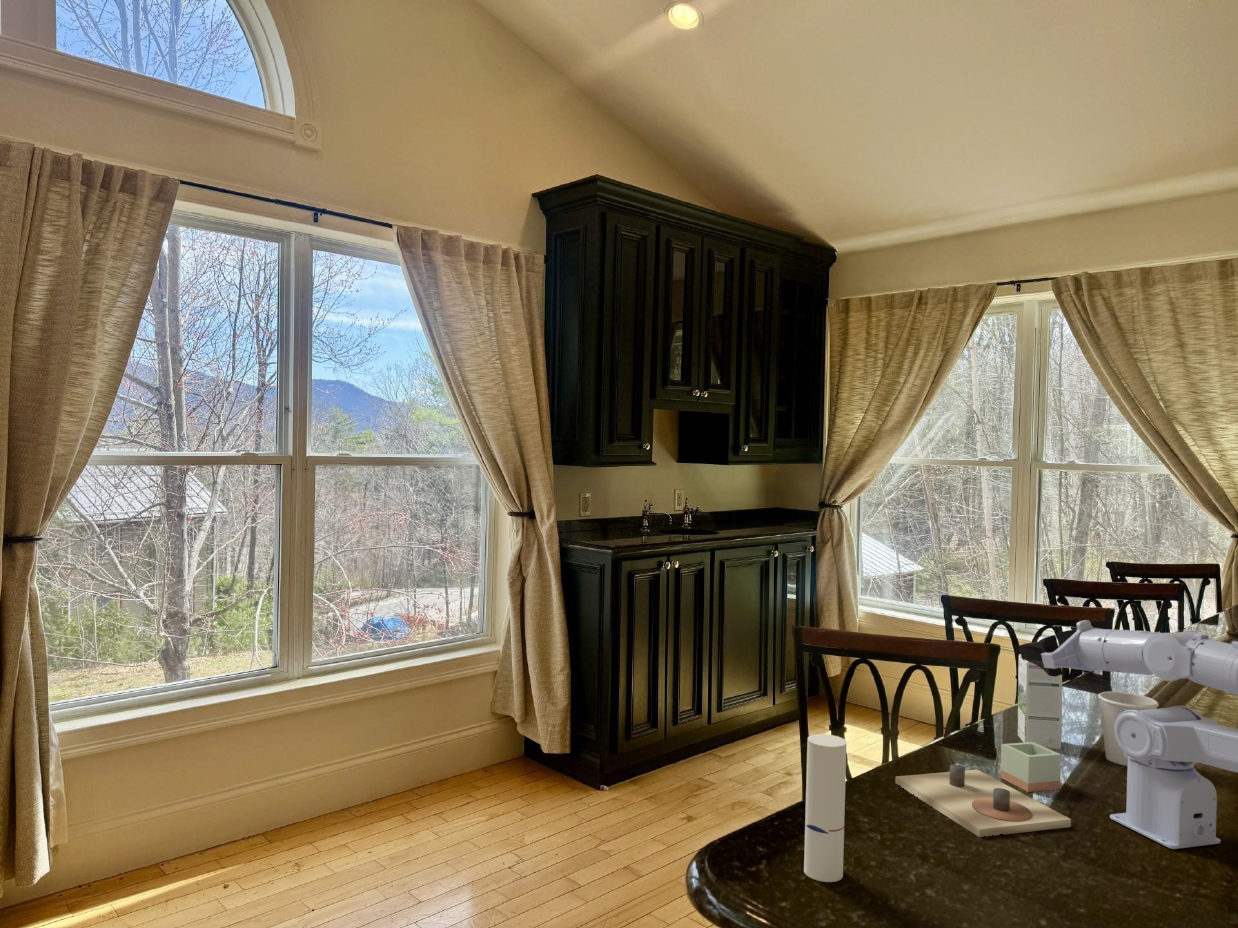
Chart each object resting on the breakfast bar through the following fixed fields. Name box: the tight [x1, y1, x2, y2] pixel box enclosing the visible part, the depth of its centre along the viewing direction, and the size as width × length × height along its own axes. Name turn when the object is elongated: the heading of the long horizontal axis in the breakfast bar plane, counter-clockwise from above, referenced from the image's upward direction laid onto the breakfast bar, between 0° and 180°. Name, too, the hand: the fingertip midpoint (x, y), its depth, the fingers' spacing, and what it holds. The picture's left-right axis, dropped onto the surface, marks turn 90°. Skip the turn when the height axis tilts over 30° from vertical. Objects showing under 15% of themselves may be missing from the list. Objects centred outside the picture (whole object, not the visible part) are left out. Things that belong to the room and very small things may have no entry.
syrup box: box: [1016, 653, 1063, 750], centre depth 143 cm, size 6×6×14 cm
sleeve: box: [1000, 742, 1062, 793], centre depth 125 cm, size 6×6×5 cm
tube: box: [803, 733, 847, 883], centre depth 96 cm, size 4×4×15 cm
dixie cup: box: [1097, 691, 1160, 767], centre depth 136 cm, size 8×8×10 cm
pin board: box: [894, 763, 1072, 838], centre depth 117 cm, size 18×14×4 cm
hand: (1041, 645), depth 129 cm, fingers open, 7 cm apart
